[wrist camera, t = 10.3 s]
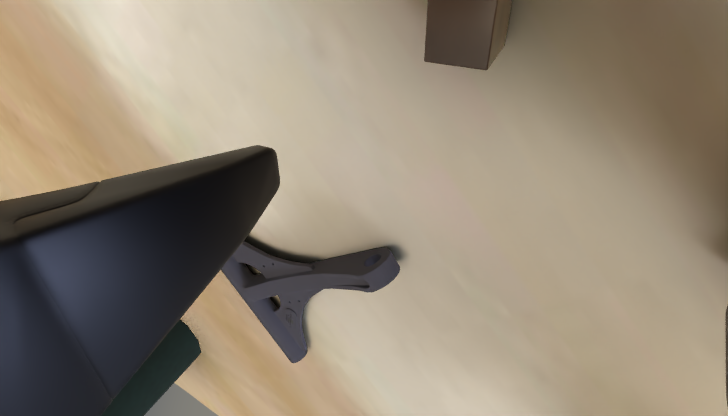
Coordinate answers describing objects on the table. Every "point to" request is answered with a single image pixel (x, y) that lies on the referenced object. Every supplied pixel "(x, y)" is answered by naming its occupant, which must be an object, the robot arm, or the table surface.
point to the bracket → (301, 286)
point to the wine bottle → (156, 373)
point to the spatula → (466, 31)
